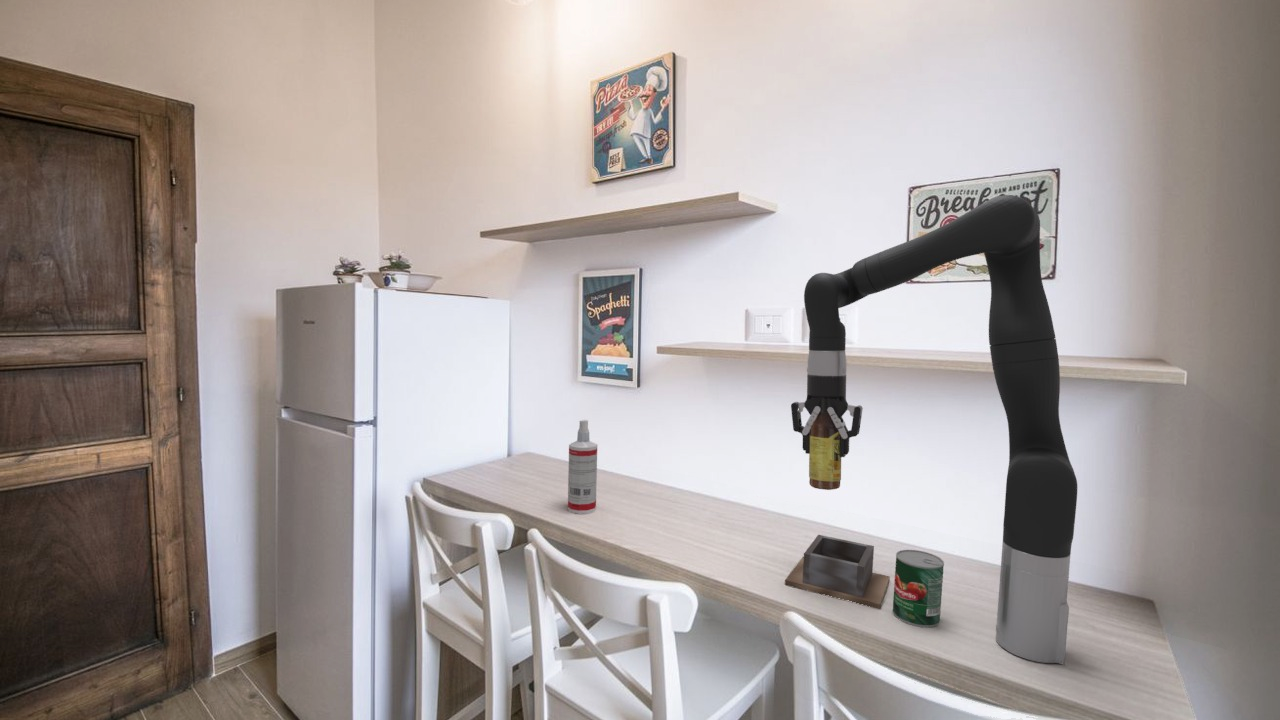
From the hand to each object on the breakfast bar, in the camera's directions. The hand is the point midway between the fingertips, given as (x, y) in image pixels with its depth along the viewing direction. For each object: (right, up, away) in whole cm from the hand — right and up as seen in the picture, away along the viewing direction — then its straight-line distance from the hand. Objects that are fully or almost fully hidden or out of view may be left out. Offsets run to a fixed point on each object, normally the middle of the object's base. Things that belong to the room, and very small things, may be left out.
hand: (825, 454), depth 116 cm
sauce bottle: (0, -7, 0) cm, 7 cm away
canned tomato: (+13, -28, -12) cm, 33 cm away
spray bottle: (-54, -22, +42) cm, 72 cm away
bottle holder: (+3, -27, +1) cm, 27 cm away
